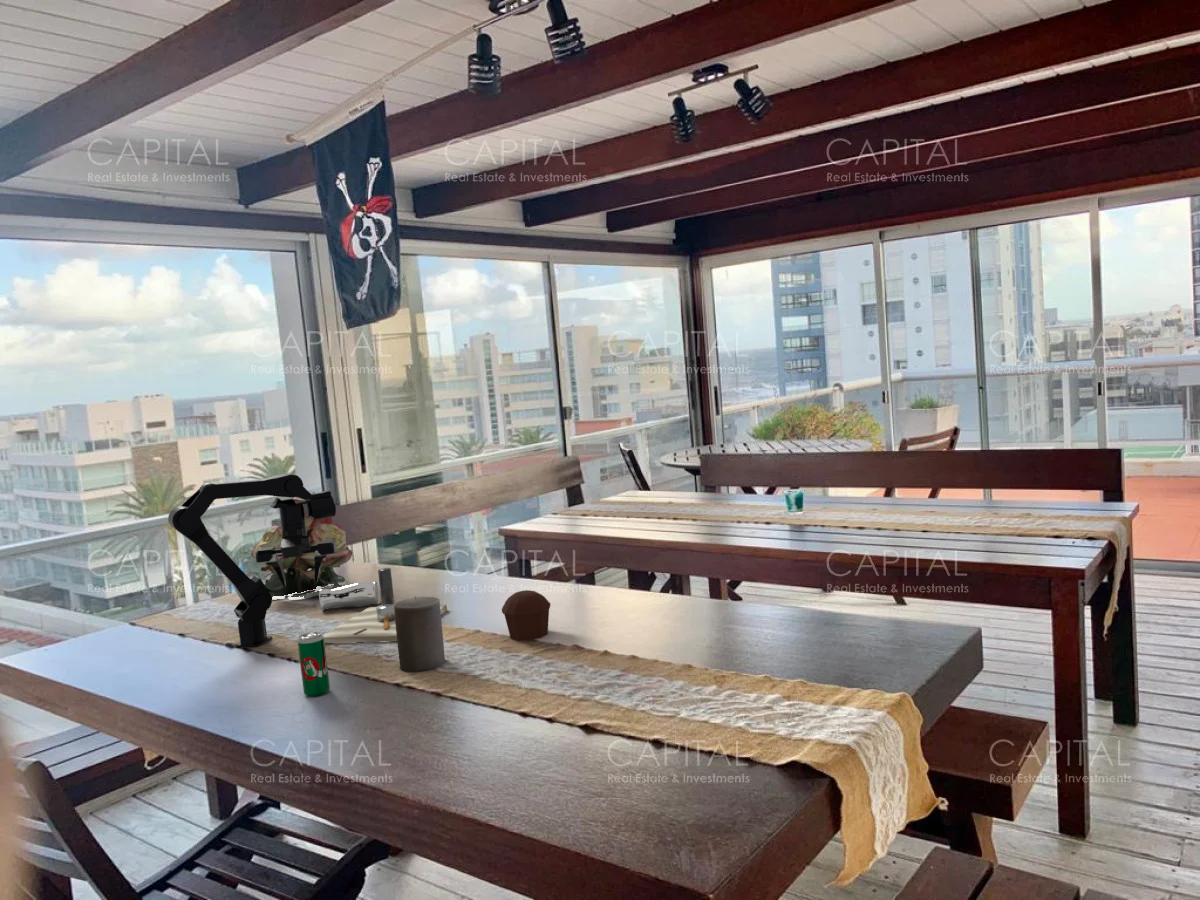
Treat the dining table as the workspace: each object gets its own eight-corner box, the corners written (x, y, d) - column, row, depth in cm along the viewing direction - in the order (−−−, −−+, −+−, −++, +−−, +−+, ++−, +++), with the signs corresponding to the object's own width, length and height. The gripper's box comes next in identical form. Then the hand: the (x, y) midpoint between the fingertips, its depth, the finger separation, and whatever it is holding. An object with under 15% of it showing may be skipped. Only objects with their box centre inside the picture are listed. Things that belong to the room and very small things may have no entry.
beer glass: (320, 613, 244) (376, 606, 245) (317, 588, 244) (373, 581, 246) (326, 610, 251) (380, 603, 252) (323, 585, 251) (377, 578, 252)
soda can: (321, 686, 184) (314, 629, 183) (335, 690, 181) (328, 632, 180) (299, 695, 180) (291, 636, 179) (313, 699, 177) (306, 640, 176)
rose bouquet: (247, 605, 261) (234, 503, 259) (302, 580, 290) (291, 488, 287) (326, 603, 255) (313, 499, 252) (375, 578, 283) (364, 483, 281)
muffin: (497, 634, 210) (492, 592, 209) (540, 624, 215) (536, 583, 214) (516, 646, 200) (511, 602, 199) (561, 635, 205) (557, 592, 204)
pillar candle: (400, 675, 187) (393, 604, 185) (398, 661, 196) (391, 594, 195) (448, 667, 189) (441, 598, 188) (443, 654, 199) (437, 587, 197)
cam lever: (396, 626, 217) (391, 582, 216) (374, 629, 216) (369, 585, 215) (399, 608, 235) (394, 566, 234) (379, 610, 234) (374, 569, 233)
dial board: (406, 641, 210) (405, 634, 210) (320, 643, 215) (319, 636, 215) (447, 610, 236) (446, 603, 236) (369, 612, 240) (368, 606, 240)
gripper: (248, 533, 216) (256, 596, 217) (328, 524, 219) (335, 586, 221) (256, 525, 227) (264, 586, 228) (333, 517, 230) (339, 577, 232)
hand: (300, 584), depth 227 cm, fingers open, 7 cm apart
